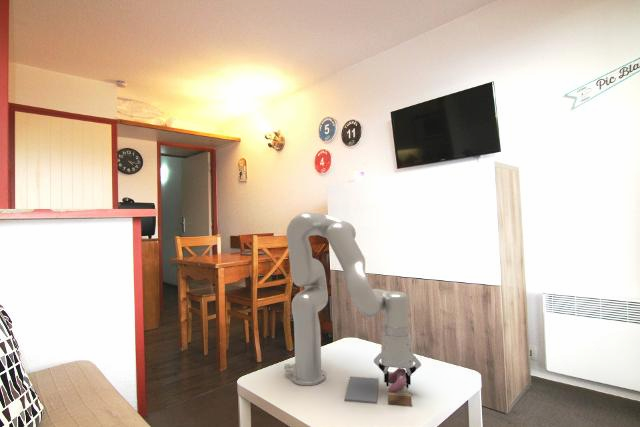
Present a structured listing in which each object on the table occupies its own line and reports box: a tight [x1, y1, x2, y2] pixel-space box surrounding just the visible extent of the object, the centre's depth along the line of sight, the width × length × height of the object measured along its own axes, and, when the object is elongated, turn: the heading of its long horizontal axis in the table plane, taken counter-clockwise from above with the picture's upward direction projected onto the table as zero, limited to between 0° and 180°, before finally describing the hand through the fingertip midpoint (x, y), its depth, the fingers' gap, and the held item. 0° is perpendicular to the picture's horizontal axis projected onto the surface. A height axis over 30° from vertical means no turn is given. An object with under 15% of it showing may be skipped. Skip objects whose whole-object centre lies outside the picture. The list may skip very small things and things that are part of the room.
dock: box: [387, 371, 413, 408], centre depth 112 cm, size 7×16×3 cm, turn 168°
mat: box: [343, 376, 379, 405], centre depth 114 cm, size 10×16×1 cm, turn 168°
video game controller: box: [387, 368, 407, 393], centre depth 112 cm, size 10×5×7 cm, turn 168°
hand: (397, 384), depth 112 cm, fingers closed on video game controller, 5 cm apart
